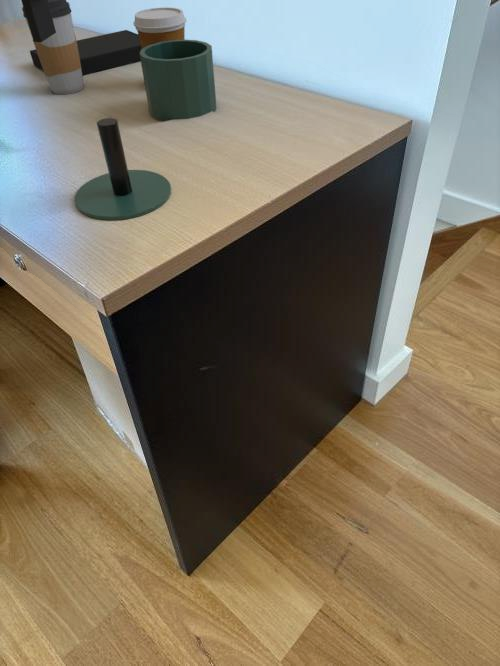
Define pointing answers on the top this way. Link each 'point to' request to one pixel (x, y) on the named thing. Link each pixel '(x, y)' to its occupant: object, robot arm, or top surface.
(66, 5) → the coffee cup
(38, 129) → the top surface
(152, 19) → the disposable coffee cup
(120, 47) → the external hard drive
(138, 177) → the lid
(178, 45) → the pot
